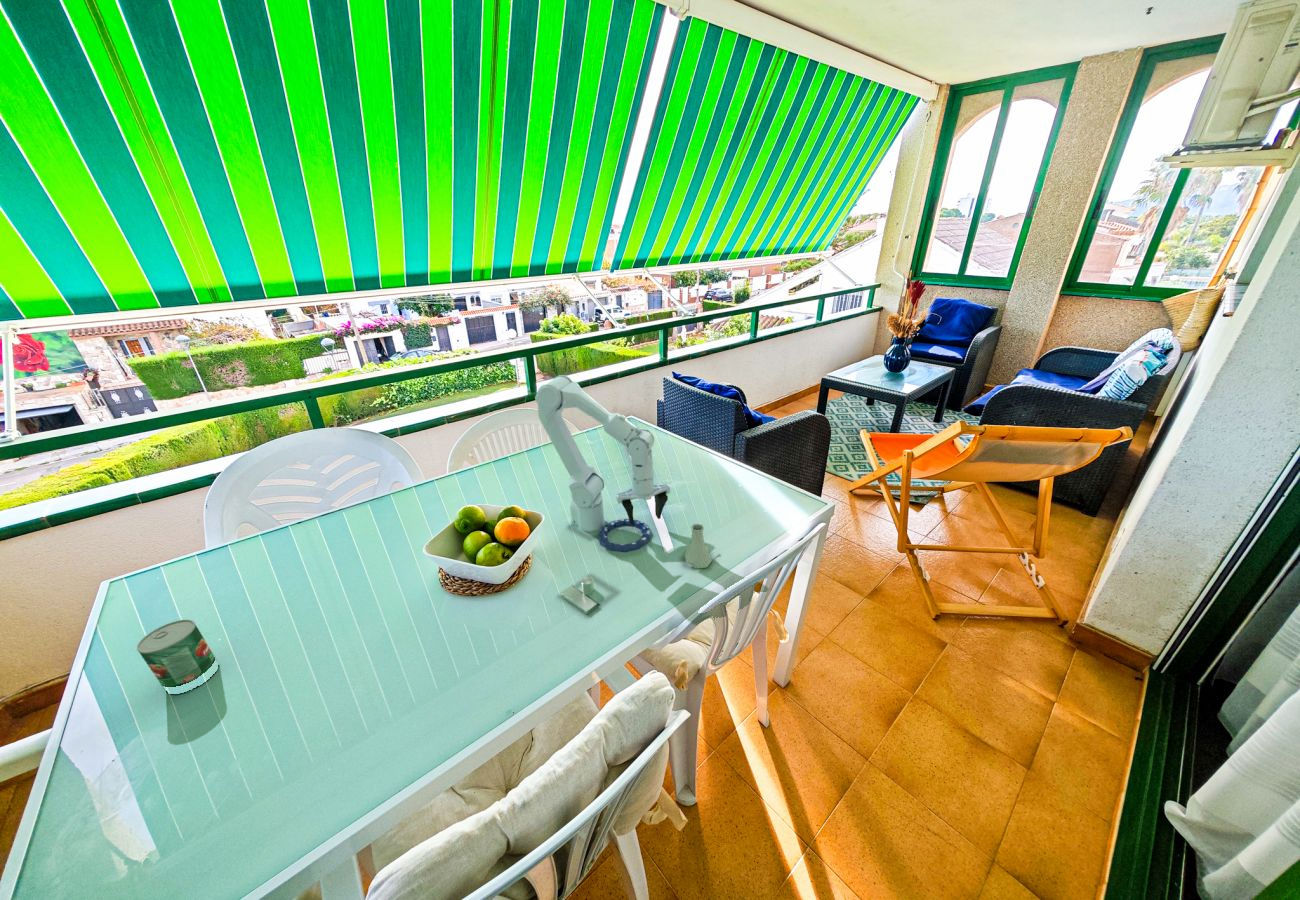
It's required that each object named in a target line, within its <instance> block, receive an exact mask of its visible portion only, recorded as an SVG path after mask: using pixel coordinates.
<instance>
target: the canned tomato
mask: <svg viewBox="0 0 1300 900" xmlns="http://www.w3.org/2000/svg"><path fill="white" fill-rule="evenodd" d="M136 651H137V652H138V653H139V654H140V656H141V658H142V659H143V661H144V662H145V663H146V665H147V666H148V668H149V669H150V671H151V672H152V674H153V675H154V677H155V678H156V679H157V681H158V683H160V686H161V687H162V686H165V687H176V686H181V685H183V684H186V683H189V682H191V681H193V680H195V679H197V678H198V677H199V676H201V675H202V674H203V673H205V672H206V671H207V670H208V669H209V668H210V667H211V666H212V664H213V663H214V661H215V658H216V656H215V655H214V652H212V649H211V648H210V645H208V643H207V641H206V640H205V638H204V636H203V635H202V633H201V631H200V630H199V628H198V626H197V625H196V622H195V621H194V620H192V619H178V620H175V621H172V622H168V623H166V624H164V625H161V626H159V627H157V628H155V629H154V630H152V631H151V632H149V633H148V634H146V635H145V636H144V637H143V638H141V639H140V640H139V641H138V643H137V645H136ZM214 656H215V657H214ZM191 691H192V690H190V691H189V692H191Z"/></svg>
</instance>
